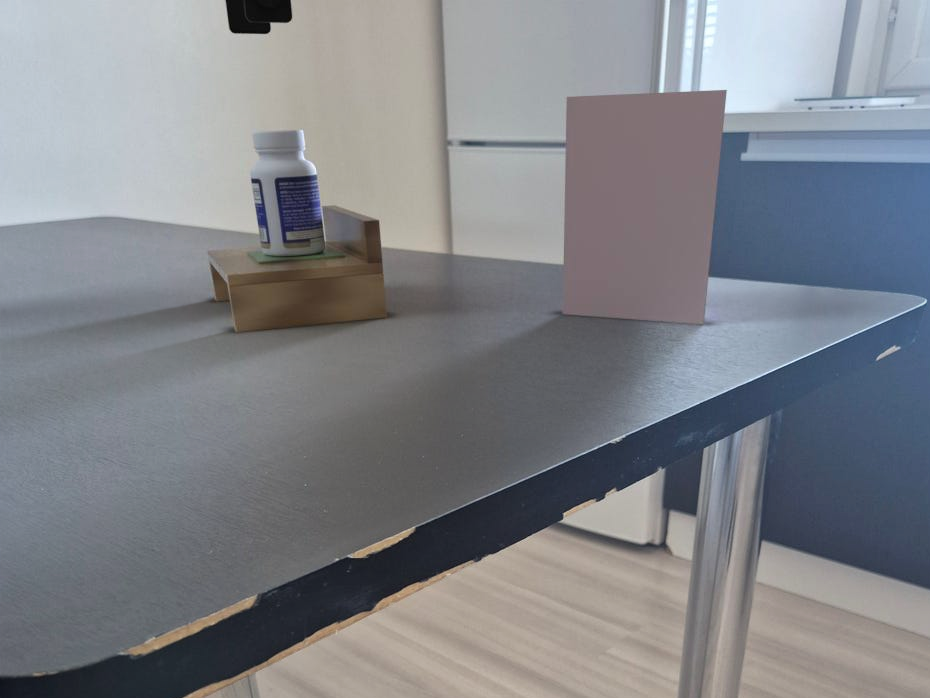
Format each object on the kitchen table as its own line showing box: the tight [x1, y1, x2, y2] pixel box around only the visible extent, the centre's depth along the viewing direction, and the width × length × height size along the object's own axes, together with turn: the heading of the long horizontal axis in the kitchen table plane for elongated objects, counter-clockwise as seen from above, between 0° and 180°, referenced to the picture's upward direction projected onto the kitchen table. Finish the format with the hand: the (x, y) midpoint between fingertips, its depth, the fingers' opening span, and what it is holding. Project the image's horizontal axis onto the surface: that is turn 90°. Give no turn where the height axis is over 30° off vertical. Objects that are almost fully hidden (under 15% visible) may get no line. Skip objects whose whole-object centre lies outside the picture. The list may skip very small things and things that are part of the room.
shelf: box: [206, 204, 388, 333], centre depth 74 cm, size 12×16×7 cm
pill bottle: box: [249, 129, 326, 256], centre depth 71 cm, size 5×5×9 cm
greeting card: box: [562, 89, 728, 325], centre depth 64 cm, size 11×7×15 cm, turn 26°
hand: (259, 28), depth 65 cm, fingers open, 9 cm apart
